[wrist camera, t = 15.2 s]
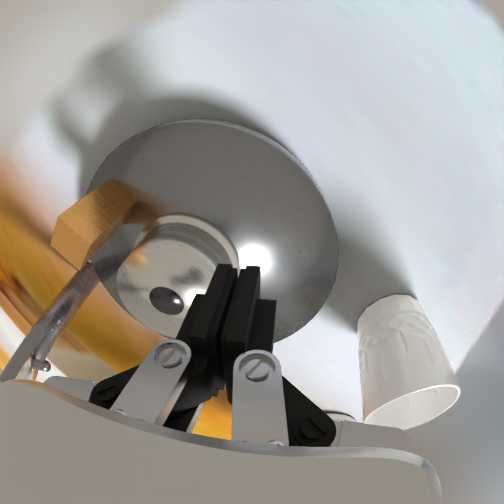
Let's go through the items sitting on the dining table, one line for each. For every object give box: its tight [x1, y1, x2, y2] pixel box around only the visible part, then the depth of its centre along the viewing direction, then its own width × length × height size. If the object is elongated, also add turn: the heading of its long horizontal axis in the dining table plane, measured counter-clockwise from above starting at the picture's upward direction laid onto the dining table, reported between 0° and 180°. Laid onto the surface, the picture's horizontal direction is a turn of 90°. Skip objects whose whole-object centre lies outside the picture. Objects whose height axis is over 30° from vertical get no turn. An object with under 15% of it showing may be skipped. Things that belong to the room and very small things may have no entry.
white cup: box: [357, 294, 460, 430], centre depth 20 cm, size 8×8×10 cm
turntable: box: [50, 119, 338, 343], centre depth 18 cm, size 19×19×7 cm
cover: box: [116, 212, 241, 338], centre depth 17 cm, size 8×8×4 cm
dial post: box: [0, 263, 100, 385], centre depth 18 cm, size 6×2×16 cm, turn 108°
